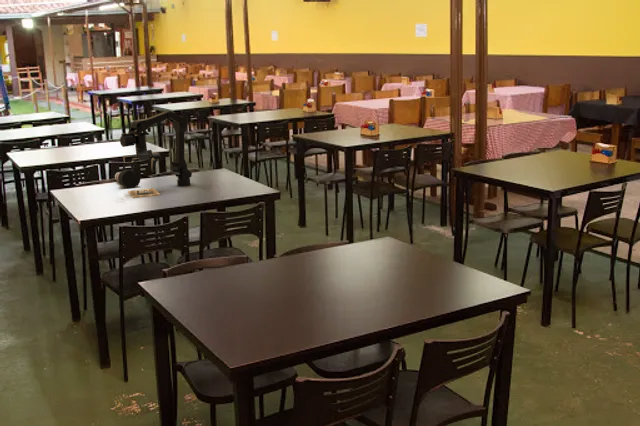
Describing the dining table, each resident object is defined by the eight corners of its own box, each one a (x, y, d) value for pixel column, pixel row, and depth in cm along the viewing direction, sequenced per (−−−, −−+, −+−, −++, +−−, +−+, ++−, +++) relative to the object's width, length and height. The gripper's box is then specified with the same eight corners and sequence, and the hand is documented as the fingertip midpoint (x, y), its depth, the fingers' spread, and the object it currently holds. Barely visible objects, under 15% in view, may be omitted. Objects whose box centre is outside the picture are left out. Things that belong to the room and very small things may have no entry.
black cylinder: (123, 187, 417) (129, 171, 418) (136, 190, 387) (143, 173, 388) (107, 181, 412) (113, 165, 413) (119, 184, 382) (125, 167, 383)
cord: (143, 188, 371) (137, 189, 370) (145, 191, 365) (139, 191, 364) (144, 194, 372) (137, 195, 371) (146, 196, 366) (139, 197, 365)
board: (154, 191, 378) (153, 184, 377) (160, 197, 362) (159, 190, 361) (128, 194, 373) (127, 186, 372) (132, 200, 356) (132, 192, 356)
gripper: (124, 147, 352) (127, 178, 356) (161, 144, 359) (164, 174, 363) (121, 145, 362) (124, 174, 366) (157, 142, 369) (160, 170, 373)
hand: (143, 173), depth 367 cm, fingers open, 9 cm apart
